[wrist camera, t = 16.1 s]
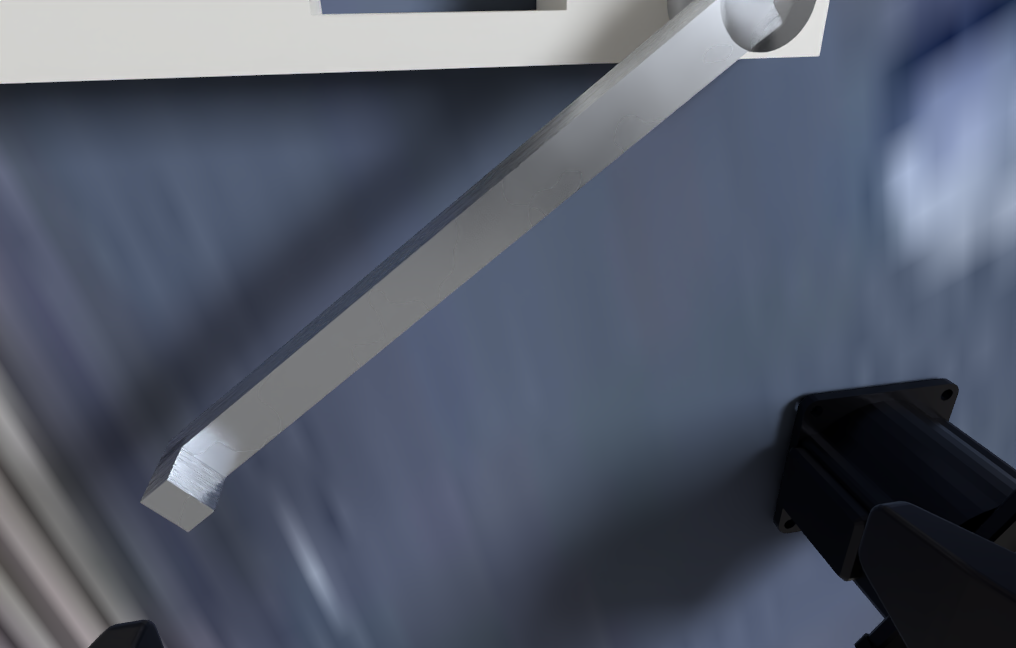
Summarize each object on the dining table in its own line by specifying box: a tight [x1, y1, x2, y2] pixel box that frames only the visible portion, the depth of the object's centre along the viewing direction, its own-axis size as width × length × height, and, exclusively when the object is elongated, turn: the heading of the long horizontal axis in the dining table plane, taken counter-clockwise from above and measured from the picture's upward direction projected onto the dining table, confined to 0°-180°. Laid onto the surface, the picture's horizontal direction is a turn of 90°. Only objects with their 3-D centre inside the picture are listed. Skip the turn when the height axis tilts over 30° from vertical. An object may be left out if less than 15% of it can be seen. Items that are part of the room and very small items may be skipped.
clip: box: [140, 0, 816, 532], centre depth 13 cm, size 17×2×2 cm, turn 128°
